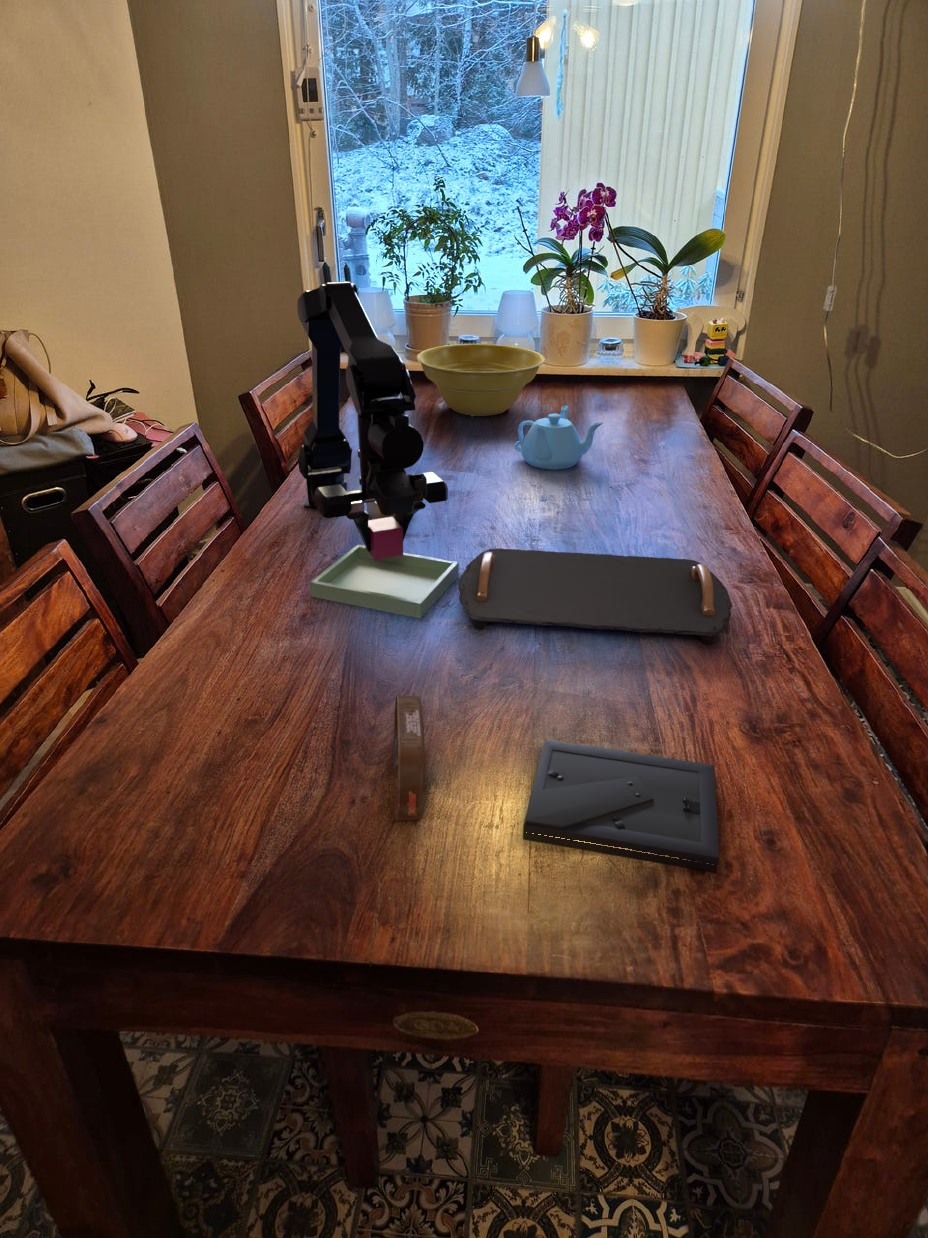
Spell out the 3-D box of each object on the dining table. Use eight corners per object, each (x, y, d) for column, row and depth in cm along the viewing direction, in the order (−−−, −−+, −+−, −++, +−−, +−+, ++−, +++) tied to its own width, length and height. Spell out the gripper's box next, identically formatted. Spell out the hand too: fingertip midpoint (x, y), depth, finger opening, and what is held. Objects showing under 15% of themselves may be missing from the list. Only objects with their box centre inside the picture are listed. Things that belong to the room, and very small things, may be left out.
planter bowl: (546, 427, 197) (549, 371, 191) (413, 426, 198) (412, 369, 191) (537, 394, 225) (540, 344, 219) (421, 392, 226) (420, 342, 219)
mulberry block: (374, 560, 120) (373, 531, 118) (365, 548, 123) (363, 520, 121) (403, 555, 121) (402, 527, 119) (393, 543, 125) (392, 516, 123)
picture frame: (522, 839, 77) (716, 873, 74) (523, 822, 76) (720, 855, 73) (543, 753, 89) (711, 779, 85) (544, 736, 88) (715, 762, 84)
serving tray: (714, 577, 127) (721, 540, 124) (741, 655, 107) (749, 613, 104) (467, 562, 131) (468, 526, 128) (448, 635, 111) (448, 594, 108)
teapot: (506, 455, 179) (507, 408, 173) (567, 447, 183) (570, 402, 178) (536, 477, 167) (538, 427, 162) (600, 468, 172) (604, 419, 167)
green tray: (311, 596, 120) (309, 582, 119) (357, 557, 132) (356, 544, 131) (420, 618, 115) (420, 603, 113) (458, 576, 126) (458, 562, 125)
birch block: (377, 524, 144) (376, 503, 142) (366, 513, 149) (365, 492, 147) (409, 520, 146) (408, 498, 144) (397, 508, 151) (397, 487, 149)
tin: (393, 742, 90) (390, 678, 86) (421, 740, 90) (420, 677, 86) (394, 840, 77) (391, 771, 73) (427, 838, 77) (426, 769, 73)
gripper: (330, 473, 105) (338, 581, 112) (463, 455, 111) (462, 559, 119) (308, 448, 114) (317, 550, 121) (433, 433, 120) (434, 531, 128)
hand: (383, 548), depth 122 cm, fingers closed on mulberry block, 4 cm apart
